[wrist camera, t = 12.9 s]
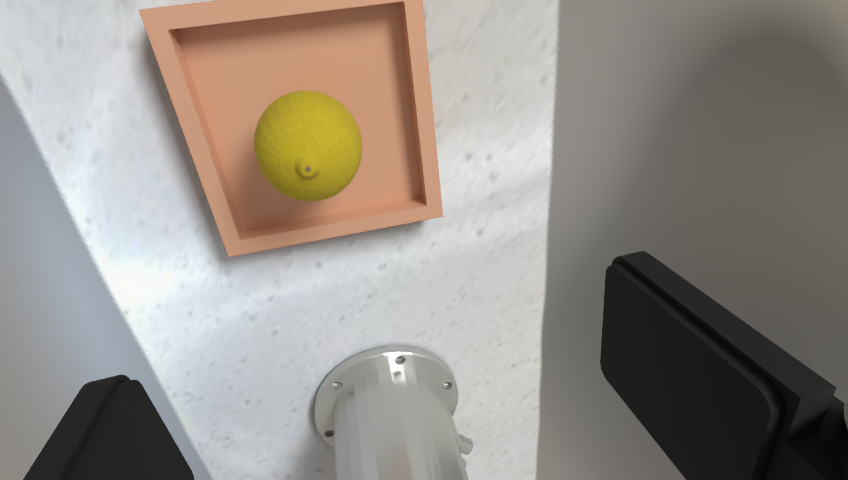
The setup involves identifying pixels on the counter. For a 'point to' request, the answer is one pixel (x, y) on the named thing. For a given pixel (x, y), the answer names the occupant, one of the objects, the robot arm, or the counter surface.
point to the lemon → (308, 145)
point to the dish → (295, 71)
